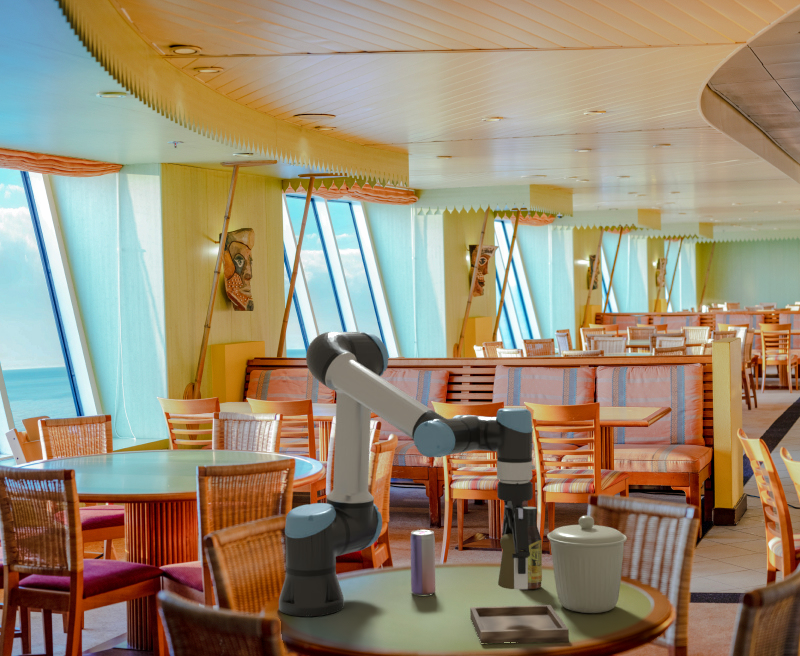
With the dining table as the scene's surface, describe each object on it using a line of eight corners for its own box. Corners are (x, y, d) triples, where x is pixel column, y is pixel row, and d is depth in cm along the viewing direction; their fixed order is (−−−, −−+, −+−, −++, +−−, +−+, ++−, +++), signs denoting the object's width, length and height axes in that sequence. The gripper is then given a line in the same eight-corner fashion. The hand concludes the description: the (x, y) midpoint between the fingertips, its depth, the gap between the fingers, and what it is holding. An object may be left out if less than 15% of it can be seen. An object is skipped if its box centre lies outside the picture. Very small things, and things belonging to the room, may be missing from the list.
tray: (481, 644, 187) (480, 632, 187) (470, 618, 205) (470, 607, 205) (568, 641, 187) (568, 629, 187) (550, 616, 205) (550, 604, 205)
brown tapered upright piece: (524, 589, 197) (525, 539, 197) (496, 588, 199) (497, 538, 198) (526, 580, 203) (527, 531, 203) (499, 578, 204) (499, 530, 204)
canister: (642, 615, 205) (640, 520, 205) (566, 621, 201) (564, 525, 202) (607, 594, 223) (606, 507, 223) (537, 599, 219) (535, 511, 219)
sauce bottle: (536, 591, 226) (534, 510, 226) (512, 588, 229) (511, 508, 230) (546, 585, 231) (545, 506, 232) (523, 582, 235) (522, 504, 235)
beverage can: (410, 596, 224) (409, 534, 224) (412, 589, 230) (411, 529, 230) (434, 596, 223) (433, 534, 223) (436, 590, 229) (435, 529, 229)
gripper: (543, 489, 184) (544, 596, 184) (521, 472, 209) (522, 565, 209) (506, 490, 184) (507, 596, 184) (489, 472, 209) (489, 566, 209)
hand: (515, 580), depth 196 cm, fingers open, 13 cm apart
